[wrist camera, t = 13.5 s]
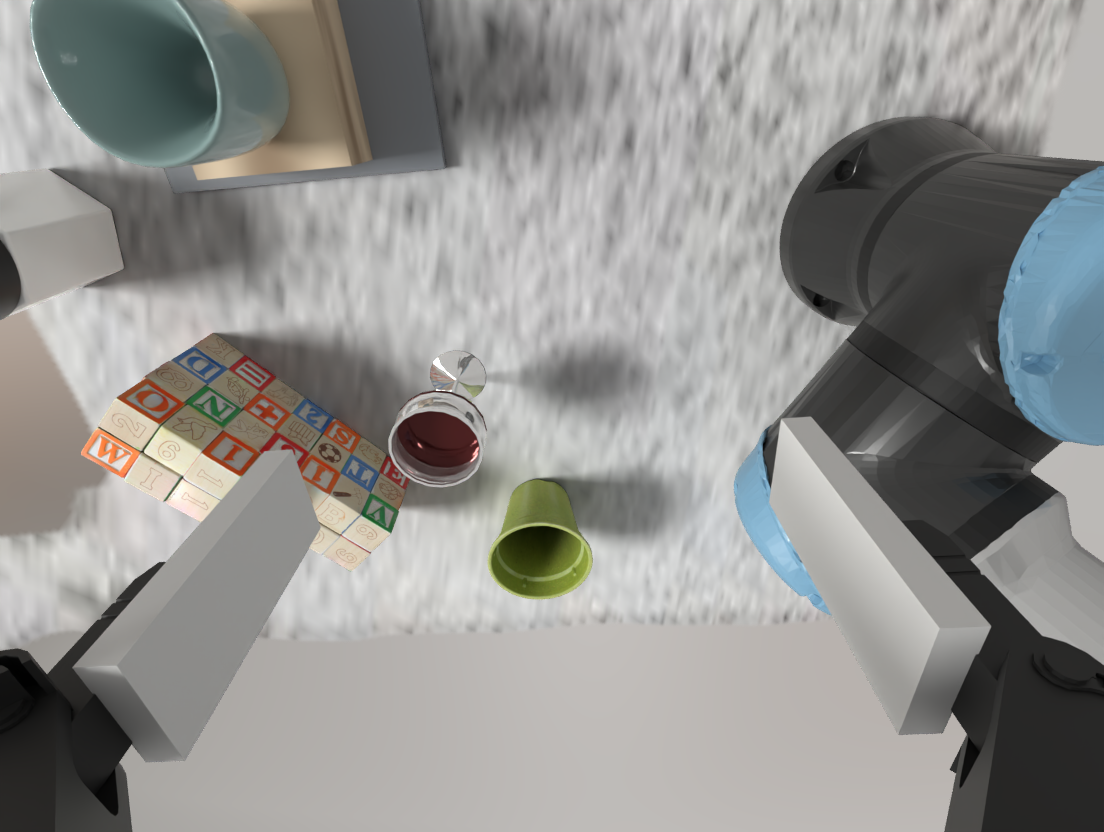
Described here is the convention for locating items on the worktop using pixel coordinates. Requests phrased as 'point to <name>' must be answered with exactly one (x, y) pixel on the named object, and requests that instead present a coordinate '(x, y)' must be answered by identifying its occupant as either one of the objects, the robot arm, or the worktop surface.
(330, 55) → the oak riser
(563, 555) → the plant pot
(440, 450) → the wineglass
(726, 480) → the worktop surface
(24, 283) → the jar
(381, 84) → the base board
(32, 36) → the cup
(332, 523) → the stack of blocks
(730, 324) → the worktop surface
